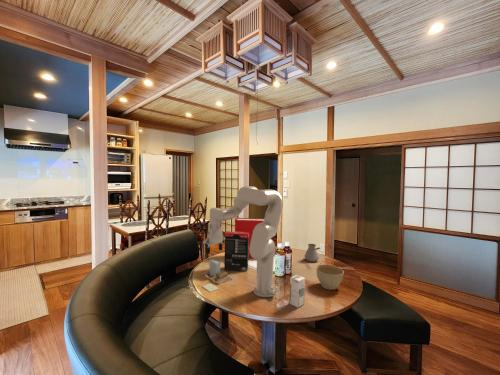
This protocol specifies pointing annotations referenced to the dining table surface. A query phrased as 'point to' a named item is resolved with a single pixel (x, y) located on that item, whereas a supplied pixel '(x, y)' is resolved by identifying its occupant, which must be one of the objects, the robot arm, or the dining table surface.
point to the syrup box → (297, 291)
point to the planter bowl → (329, 276)
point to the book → (247, 227)
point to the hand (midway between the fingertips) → (214, 251)
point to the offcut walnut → (221, 275)
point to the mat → (210, 287)
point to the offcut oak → (221, 279)
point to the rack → (214, 278)
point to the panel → (214, 268)
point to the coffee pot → (311, 253)
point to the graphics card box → (236, 251)
